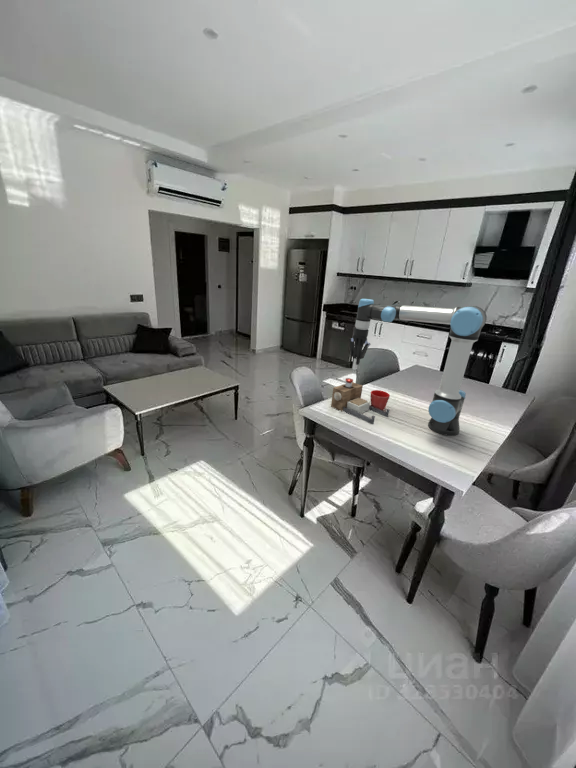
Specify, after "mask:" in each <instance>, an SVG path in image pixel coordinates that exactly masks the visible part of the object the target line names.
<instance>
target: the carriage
mask: <svg viewBox="0 0 576 768" xmlns="http://www.w3.org/2000/svg"><path fill="white" fill-rule="evenodd" d="M370 405H371V401H368V400H366V399H363V398H362V397H361V398H357V399H354V400H351V401H349V402H347V408H349V409H351V410H354V411H356V412H358V413H360V414H363V413H365V412H368V411H370V410H369V406H370Z"/></svg>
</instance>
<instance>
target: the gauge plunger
mask: <svg viewBox="0 0 576 768" xmlns="http://www.w3.org/2000/svg"><path fill="white" fill-rule="evenodd" d="M352 382H354V379H353V378H350V377H349V378H348V377H347V378H345V384H346V385H345V387H346V388H348V389H350V388H351V387H352Z"/></svg>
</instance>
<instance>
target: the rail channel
mask: <svg viewBox="0 0 576 768" xmlns="http://www.w3.org/2000/svg"><path fill="white" fill-rule="evenodd" d="M368 411H371V412H373V413H376V414H379V415H381V416H383V417H386V418H389V414H390V409H389V408H386V411H385V409H384V410H381V409H379V408H376V407H374V406H371V404H370V406H369V410H368ZM342 412H344V413H346V414H348V415H351V416H352V417H356V418H357V419H360V420H362V421H364V422H366V423H368V424H370V425H374V424H375V418H376V416H374V415H371V417H370V416H367V415H365V414H363V413H361V414H360V413H358V412H356V411H354V410H351V409H349V408H347V407H343V411H342Z"/></svg>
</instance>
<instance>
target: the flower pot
mask: <svg viewBox="0 0 576 768" xmlns="http://www.w3.org/2000/svg"><path fill="white" fill-rule="evenodd" d="M390 396H391V395H390V393H389V392H387V391H384V390H380V389H374V390H371V391H370V405H371V406H374V407H376V408H379V409H381V410H384V411H385V408H386V406H387V404H388V401H389V399H390Z"/></svg>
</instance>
